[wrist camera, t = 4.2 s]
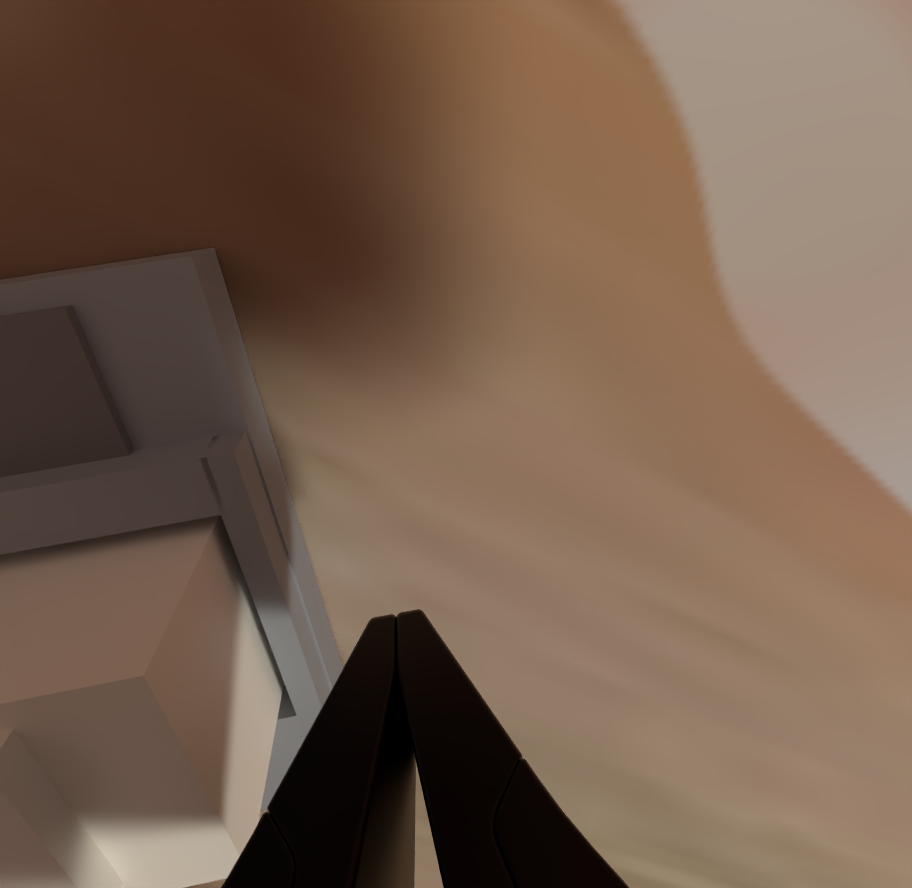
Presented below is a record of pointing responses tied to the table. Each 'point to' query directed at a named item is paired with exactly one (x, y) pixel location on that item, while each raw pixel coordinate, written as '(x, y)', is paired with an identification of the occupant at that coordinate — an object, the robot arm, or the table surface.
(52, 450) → the switch board
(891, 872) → the table surface
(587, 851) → the robot arm
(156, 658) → the switch tab
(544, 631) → the table surface
